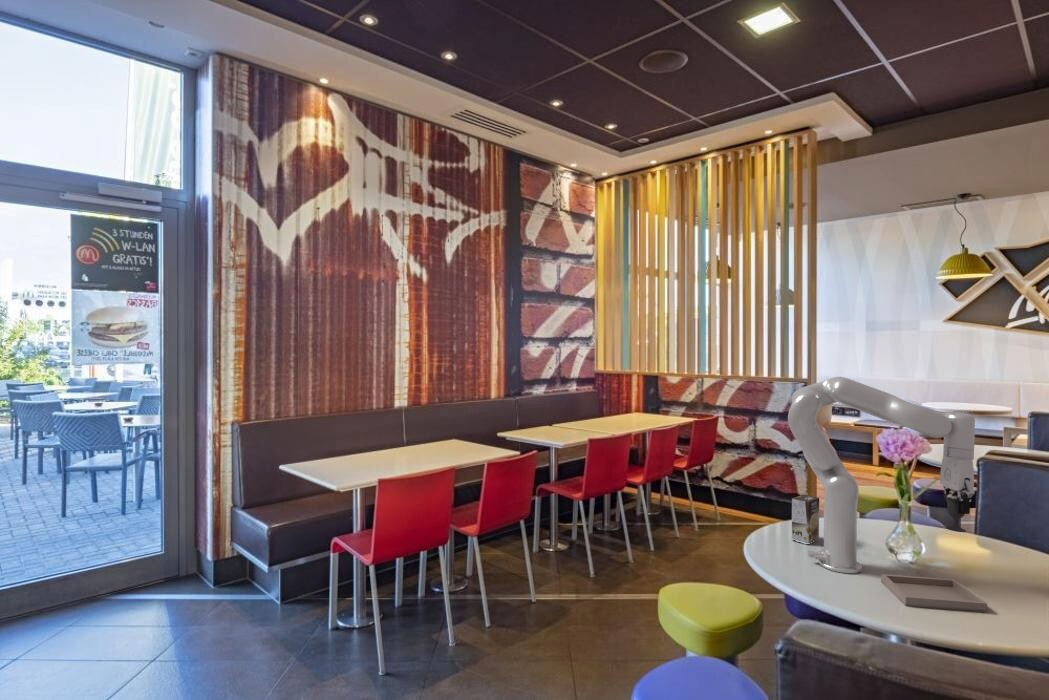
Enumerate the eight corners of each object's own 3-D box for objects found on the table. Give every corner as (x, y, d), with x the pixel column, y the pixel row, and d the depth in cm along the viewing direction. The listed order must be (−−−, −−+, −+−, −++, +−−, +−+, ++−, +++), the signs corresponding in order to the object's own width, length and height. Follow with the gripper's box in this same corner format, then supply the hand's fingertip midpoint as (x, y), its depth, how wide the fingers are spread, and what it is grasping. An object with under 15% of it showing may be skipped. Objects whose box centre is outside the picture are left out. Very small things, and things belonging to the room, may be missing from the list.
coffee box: (808, 545, 203) (808, 501, 203) (791, 540, 208) (791, 498, 208) (819, 540, 209) (819, 497, 209) (802, 535, 214) (802, 493, 214)
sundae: (974, 534, 169) (976, 484, 169) (949, 532, 170) (951, 483, 170) (962, 527, 176) (963, 479, 175) (938, 525, 177) (939, 478, 177)
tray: (905, 606, 156) (905, 597, 156) (881, 582, 172) (881, 574, 172) (987, 612, 152) (987, 603, 152) (954, 587, 168) (954, 579, 168)
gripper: (930, 447, 182) (928, 501, 182) (960, 457, 165) (958, 518, 165) (956, 448, 180) (954, 503, 181) (989, 459, 163) (987, 520, 164)
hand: (956, 509), depth 173 cm, fingers closed on sundae, 6 cm apart
